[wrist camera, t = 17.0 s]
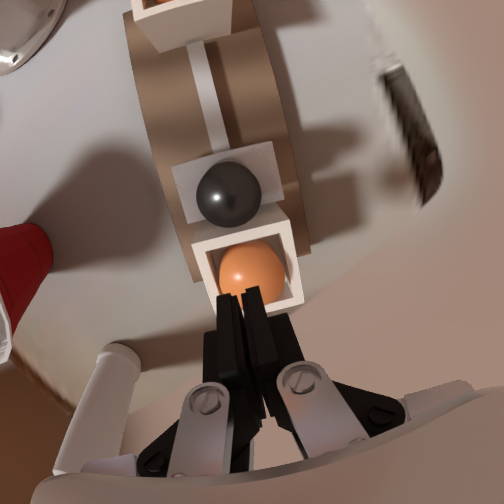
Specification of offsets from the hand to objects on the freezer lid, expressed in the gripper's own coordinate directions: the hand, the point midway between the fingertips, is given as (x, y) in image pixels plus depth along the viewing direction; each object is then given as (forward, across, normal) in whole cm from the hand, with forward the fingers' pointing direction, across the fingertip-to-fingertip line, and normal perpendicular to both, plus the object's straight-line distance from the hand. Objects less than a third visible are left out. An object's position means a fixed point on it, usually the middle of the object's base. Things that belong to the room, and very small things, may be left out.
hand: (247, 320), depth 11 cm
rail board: (+13, -1, -8) cm, 16 cm away
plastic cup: (+14, +20, -3) cm, 25 cm away
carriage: (+10, -1, -4) cm, 11 cm away
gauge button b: (+7, -1, +1) cm, 7 cm away
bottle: (+13, +16, +12) cm, 24 cm away
